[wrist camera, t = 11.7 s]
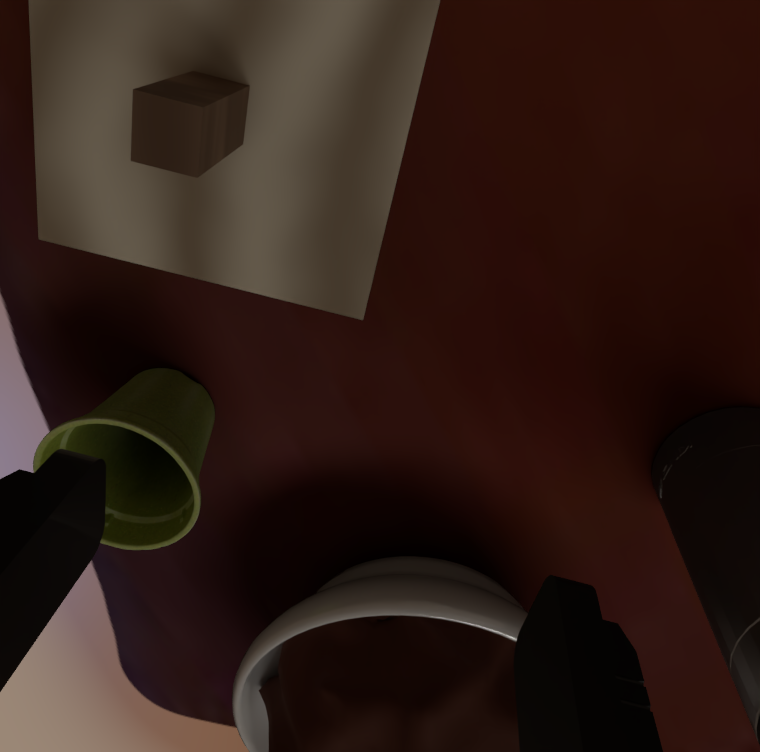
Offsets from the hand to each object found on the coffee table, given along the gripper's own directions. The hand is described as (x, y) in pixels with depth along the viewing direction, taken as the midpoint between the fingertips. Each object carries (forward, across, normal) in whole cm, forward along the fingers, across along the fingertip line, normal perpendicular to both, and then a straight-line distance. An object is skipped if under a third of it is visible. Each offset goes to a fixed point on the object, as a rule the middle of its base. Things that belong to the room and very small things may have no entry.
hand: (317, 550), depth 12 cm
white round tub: (+29, -8, +33) cm, 44 cm away
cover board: (+21, +9, -3) cm, 23 cm away
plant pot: (+28, +12, +18) cm, 35 cm away
